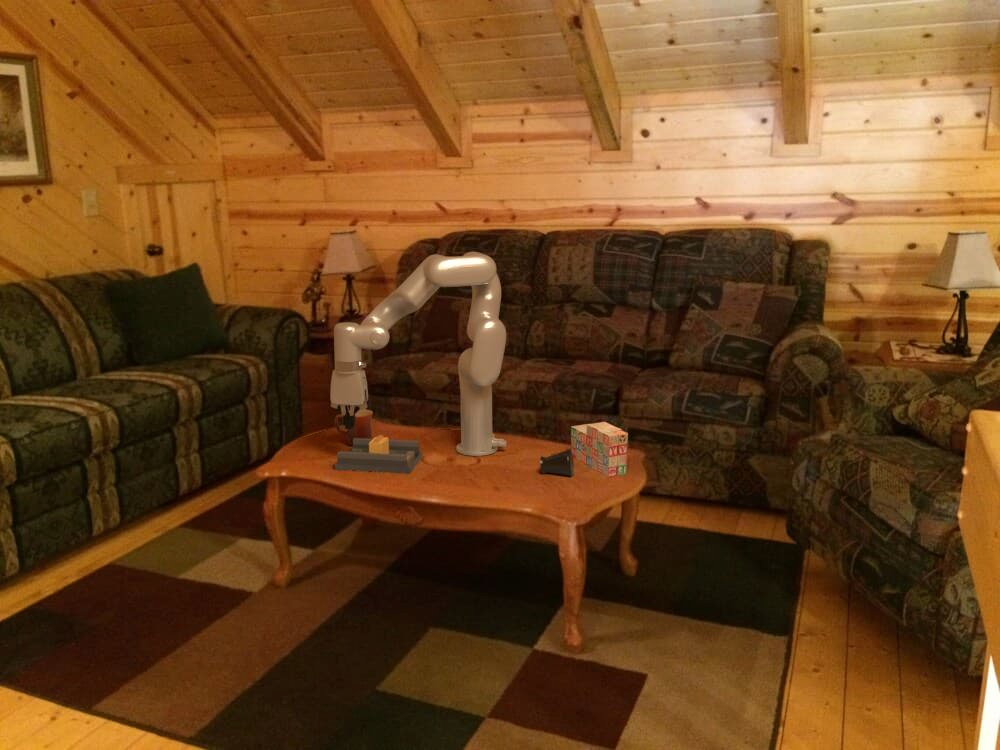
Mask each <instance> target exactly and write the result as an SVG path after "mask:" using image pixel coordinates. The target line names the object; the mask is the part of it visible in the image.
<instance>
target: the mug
mask: <svg viewBox="0 0 1000 750" xmlns="http://www.w3.org/2000/svg"><path fill="white" fill-rule="evenodd" d="M349 413H350V410H349ZM373 414H374V412H373V410H370V409H367V408H366V409H364V410H359V411H358V412H357V413H356V414H355V425H354V427H353V428H352V429H345V430H343V429H342V428H341V427H340V425H339V419H343V415H342V414H338V415H336V416H335V418H334V427H335V428H336V430H337V432H339V433H340V434H341V435H344V436H347V441H348V442H347V443H348V444H349V446H352V447H353V439H354V438H364V439H373V435H372V434H373V432H372V418H373Z"/></svg>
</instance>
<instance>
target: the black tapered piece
mask: <svg viewBox="0 0 1000 750" xmlns="http://www.w3.org/2000/svg"><path fill="white" fill-rule="evenodd" d="M539 464H540V471H541V474H542V475H544V474H546V473H551V474H556V475H561V476H567V477H572V476H574V475H575V459H574V457H573V454H572V451H571V449H565V450H562V451H560V452H554V453H551V454H550V456H547V457H545V456H540V463H539Z"/></svg>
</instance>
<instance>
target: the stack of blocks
mask: <svg viewBox="0 0 1000 750" xmlns="http://www.w3.org/2000/svg"><path fill="white" fill-rule="evenodd" d="M570 436H571V439H570V445H571V449H570V450H571V451H572V454H573V458H575V459H576V460H579V462H582V463H583V464H584V465H587V466H588V467H590V468H592V469H594V470H595V471H597V472H598V473H600V474H602V475H603V476H605V477H606V478H612V477H617V476H625V475H627V469H628V467H627V466H628V464H627V463H628V462H627V460H628V448H629V447H628V446H629V444H628V443H629V441H628V439H629V433H628V432H626V431H624V430H622V428H620V427H617V426H614V425H612V424H610V423H609V422H606V421H601V422H594V423H586V424H580V425H572V426H570Z"/></svg>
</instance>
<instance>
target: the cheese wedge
mask: <svg viewBox="0 0 1000 750" xmlns="http://www.w3.org/2000/svg"><path fill="white" fill-rule="evenodd" d="M372 439H373V440H372V441H370V442H369V453H383V454H389V440H390V439H389V437H387V436H385V437H384V434H378V436H375V437H373V438H372Z"/></svg>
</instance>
